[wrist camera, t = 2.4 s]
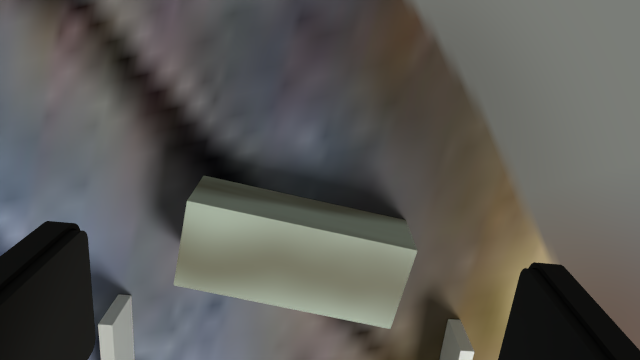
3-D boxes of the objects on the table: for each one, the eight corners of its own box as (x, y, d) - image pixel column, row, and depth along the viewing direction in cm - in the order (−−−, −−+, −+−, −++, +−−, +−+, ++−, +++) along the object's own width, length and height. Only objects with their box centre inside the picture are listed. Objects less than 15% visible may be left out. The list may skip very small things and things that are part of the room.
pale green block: (204, 173, 28) (187, 200, 25) (404, 218, 29) (417, 250, 26) (191, 249, 30) (173, 285, 26) (381, 288, 31) (390, 328, 27)
